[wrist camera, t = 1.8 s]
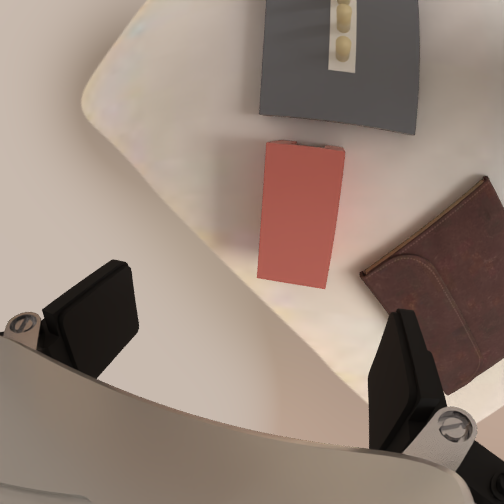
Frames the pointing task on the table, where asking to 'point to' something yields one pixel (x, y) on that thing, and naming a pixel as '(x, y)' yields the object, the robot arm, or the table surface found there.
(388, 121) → the board
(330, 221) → the block
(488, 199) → the notebook
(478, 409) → the table surface
